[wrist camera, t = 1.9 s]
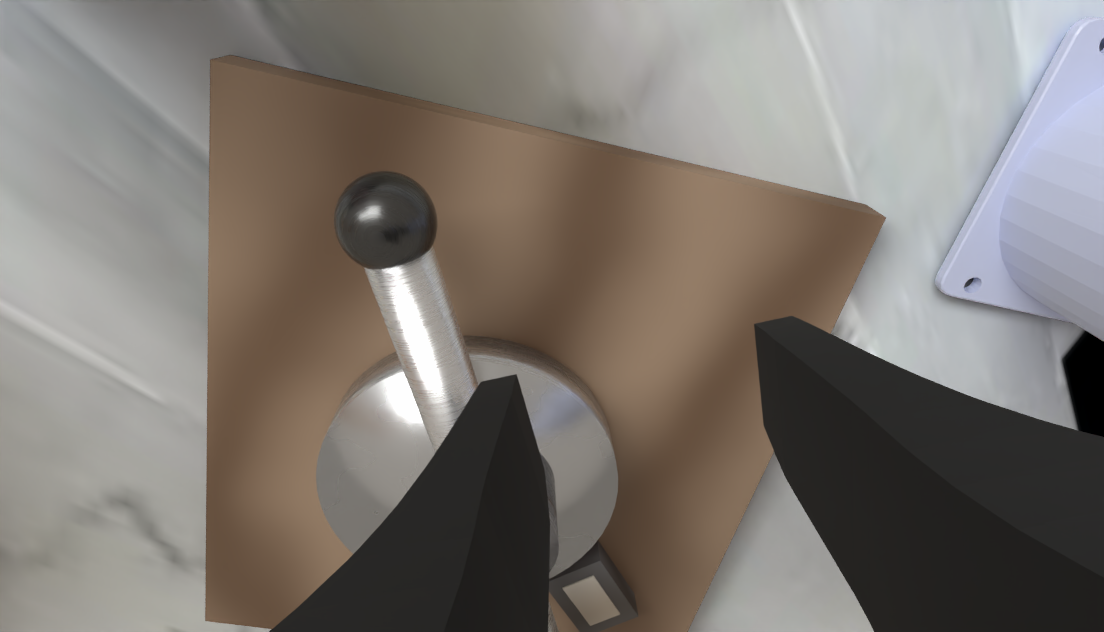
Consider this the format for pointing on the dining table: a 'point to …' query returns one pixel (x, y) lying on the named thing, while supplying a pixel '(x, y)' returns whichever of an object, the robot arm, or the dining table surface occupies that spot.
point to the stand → (498, 323)
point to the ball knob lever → (446, 386)
